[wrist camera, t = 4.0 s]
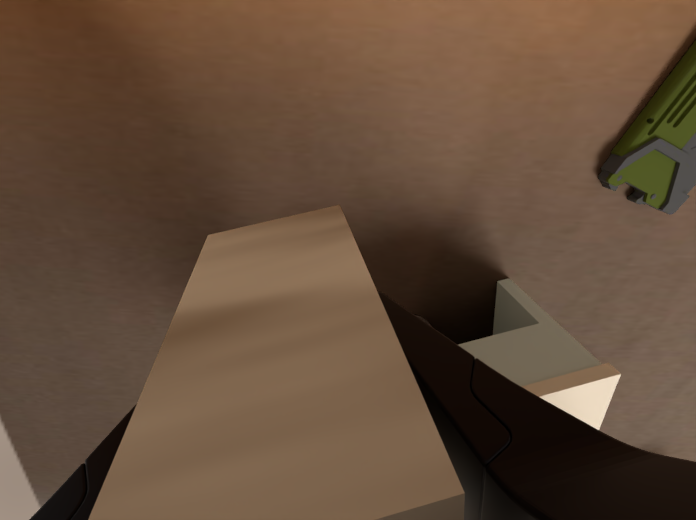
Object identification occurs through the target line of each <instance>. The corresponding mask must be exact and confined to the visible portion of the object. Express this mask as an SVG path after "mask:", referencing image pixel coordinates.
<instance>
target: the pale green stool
mask: <svg viewBox="0 0 696 520" xmlns="http://www.w3.org/2000/svg"><path fill="white" fill-rule="evenodd" d="M458 345H459V346H460V347H462V348H463V349H465V350H466V351H467V352H469V353H470V354H472V355H473V356H474V357H475V358H478V359H479V360H481V361H482V362H484V363H485V364H487V365H488V366H489V367H491V368H492V369H494V370H496V371H497V372H499V373H500V374H502V375H503V376H505V377H506V378H508V379H509V380H511V381H513V382H514V383H516V384H518V385H519V386H521V387H523V388H525V389H526V390H528V391H530V392H531V393H533V394H535V395H536V396H538V397H540V398H542V399H544V400H545V401H547V402H549V403H551V404H553V405H554V406H556V407H558V408H560V409H562V410H563V411H565V412H567V413H569V414H571V415H572V416H574V417H576V418H578V419H580V420H581V421H583V422H585V423H587V424H589V425H590V426H592V427H594V428H596V429H597V430H599V428H600V426H601V423H602V421H603V418H604V416H605V413H606V411H607V408H608V405H609V403H610V400H611V398H612V395H613V393H614V390H615V388H616V385H617V383H618V380H619V378H620V375H621V374H620V373H619V372H618V371H617V370H616V369H615V368H614V367H613V366H612V365H610V364H609V363H605V364H602V363H600V362H599V361H598V360H597V359H596V358H595V357H594V356H593V355H592V354H591V353H590V352H589V351H587V350H586V349H585V348H584V347H583V346H582V345H581V344H580V343H579V342H578V341H577V340H576V339H574V338H573V337H572V336H571V335H570V334H569V333H568V332H567V331H566V330H565V329H564V328H563V327H561V326H560V325H559V324H558V323H557V322H556V321H555V320H554V319H553V318H552V317H551V316H550V315H548V314H547V313H546V312H545V311H544V310H543V309H542V308H541V307H540V306H539V305H538V304H537V303H535V302H534V301H533V300H532V299H531V298H530V297H529V296H528V295H527V294H526V293H525V292H524V291H523V290H521V289H520V288H519V287H518V286H517V285H516V284H515V283H514V282H513V281H512V280H511V279H510V278H508V279H504V280H500V281H497V290H496V302H495V314H494V326H493V335H492V336H489V337H485V338H481V339H477V340H473V341H470V342H466V343H462V344H458Z"/></svg>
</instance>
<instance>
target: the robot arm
mask: <svg viewBox="0 0 696 520" xmlns="http://www.w3.org/2000/svg"><path fill="white" fill-rule="evenodd" d="M378 294H379V297H380V299H381V301H382V304H383V306H384V308H385V311H386V313H387V315H388V317H389V320H390V322H391V324H392V327H393V329H394V331H395V334H396V336H397V338H398V340H399V343H400V345H401V347H402V350H403V352H404V354H405V357H406V359H407V361H408V364H409V366H410V368H411V370H412V373H413V375H414V377H415V380H416V382H417V384H418V387H419V389H420V391H421V393H422V396H423V398H424V400H425V403H426V405H427V407H428V410H429V412H430V414H431V417H432V419H433V421H434V423H435V426H436V428H437V430H438V433H439V435H440V437H441V440H442V442H443V444H444V446H445V449H446V451H447V453H448V456H449V458H450V460H451V463H452V465H453V467H454V470H455V472H456V474H457V476H458V479H459V481H460V483H461V486H462V488H463V490H464V493H465V501H464V520H696V462H694V461H689V460H684V459H679V458H674V457H669V456H664V455H659V454H655V453H651V452H648V451H645V450H641V449H639V448H636V447H633V446H631V445H628V444H626V443H623V442H621V441H619V440H617V439H615V438H613V437H611V436H609V435H607V434H605V433H603V432H601V431H599V430H597V429H596V428H594V427H592V426H590V425H589V424H587V423H585V422H583V421H581V420H580V419H578V418H576V417H574V416H572V415H571V414H569V413H567V412H565V411H563V410H562V409H560V408H558V407H556V406H554V405H553V404H551V403H549V402H547V401H545V400H544V399H542V398H540V397H538V396H536V395H535V394H533V393H531V392H530V391H528V390H526V389H525V388H523V387H521V386H519V385H518V384H516V383H514V382H513V381H511V380H509V379H508V378H506V377H505V376H503V375H502V374H500V373H499V372H497V371H496V370H494V369H492V368H491V367H489V366H488V365H487V364H485V363H484V362H482V361H481V360H479V359H478V358H475V357H474V356H473V355H472V354H470V353H469V352H467V351H466V350H465V349H463V348H462V347H460V346H459V345H457V344H456V343H454V342H453V341H452V340H450V339H449V338H447V337H446V336H444V335H443V334H441V333H440V332H438V331H437V330H436V329H434V328H433V327H431V326H430V325H428V324H427V323H425V322H424V321H422V320H421V319H420V318H418V317H417V316H415V315H414V314H412V313H411V312H409V311H408V310H407V309H405V308H404V307H402V306H401V305H399V304H398V303H396V302H395V301H393V300H392V299H391V298H389V297H388V296H386V295H385V294H383V293H382V292H378ZM136 405H137V404H136ZM136 405H135V406H134V407H133V408H132V409H131V411H130V412H129V413H128V414H127V415H126V416H125V417H124V418H123V419H122V420H121V422H120V423H119V424H118V425H117V426H116V427H115V428H114V429H113V430H112V431H111V432H110V434H109V435H108V436H107V437H106V438H105V439H104V440H103V441H102V442H101V443H100V445H99V446H98V447H97V448H96V449H95V450H94V451H93V452H92V453H91V454H90V455H89V457H88V458H87V459H86V460H85V464H81V465H80V466H79V467H78V469H77V470H76V471H75V472H74V473H73V474H72V475H71V476H70V477H69V478H68V479H67V481H66V482H65V483H64V484H63V485H62V486H61V487H60V488H59V489H58V490H57V491H56V492H55V493H54V494H53V496H52V497H51V498H50V499H49V500H48V501H47V502H46V503H45V504H44V505H43V506H42V507H41V508H40V509H39V510H38V511H37V512H36V514H34V516H33V517H32V518H31V519H30V520H88V519H89V517H90V514H91V512H92V510H93V507H94V505H95V502H96V500H97V498H98V495H99V493H100V491H101V488H102V486H103V483H104V481H105V479H106V476H107V474H108V472H109V469H110V467H111V464H112V462H113V460H114V457H115V455H116V453H117V450H118V448H119V445H120V443H121V441H122V438H123V436H124V434H125V431H126V429H127V426H128V424H129V422H130V419H131V417H132V415H133V412H134V410H135V407H136Z"/></svg>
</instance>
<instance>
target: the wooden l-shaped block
mask: <svg viewBox="0 0 696 520" xmlns="http://www.w3.org/2000/svg"><path fill="white" fill-rule="evenodd" d="M464 501H465V493H464V490H463V488H462V486H461V483H460V481H459V479H458V476H457V474H456V472H455V470H454V467H453V465H452V463H451V460H450V458H449V456H448V453H447V451H446V449H445V446H444V444H443V442H442V440H441V437H440V435H439V433H438V430H437V428H436V426H435V423H434V421H433V419H432V417H431V414H430V412H429V410H428V407H427V405H426V403H425V400H424V398H423V396H422V393H421V391H420V389H419V387H418V384H417V382H416V380H415V377H414V375H413V373H412V370H411V368H410V366H409V364H408V361H407V359H406V357H405V354H404V352H403V350H402V347H401V345H400V343H399V340H398V338H397V336H396V334H395V331H394V329H393V327H392V324H391V322H390V320H389V317H388V315H387V313H386V311H385V308H384V306H383V304H382V301H381V299H380V297H379V294H378V292H377V290H376V287H375V285H374V283H373V281H372V278H371V276H370V274H369V271H368V269H367V267H366V264H365V262H364V260H363V258H362V255H361V253H360V251H359V248H358V246H357V244H356V241H355V239H354V237H353V234H352V232H351V230H350V228H349V225H348V223H347V221H346V218H345V216H344V214H343V211H342V209H341V207H340V205H336V206H332V207H327V208H323V209H319V210H314V211H310V212H306V213H301V214H297V215H293V216H288V217H284V218H280V219H275V220H271V221H267V222H262V223H258V224H254V225H249V226H245V227H241V228H236V229H232V230H228V231H223V232H219V233H215V234H210V235H208V236H207V239H206V241H205V243H204V246H203V248H202V250H201V253H200V255H199V258H198V260H197V262H196V265H195V267H194V269H193V272H192V274H191V277H190V279H189V281H188V284H187V286H186V289H185V291H184V293H183V296H182V298H181V300H180V303H179V305H178V308H177V310H176V312H175V315H174V317H173V319H172V322H171V324H170V327H169V329H168V331H167V334H166V336H165V338H164V341H163V343H162V346H161V348H160V350H159V353H158V355H157V357H156V360H155V362H154V365H153V367H152V369H151V372H150V374H149V376H148V379H147V381H146V384H145V386H144V388H143V391H142V393H141V396H140V398H139V400H138V403H137V405H136V407H135V410H134V412H133V415H132V417H131V419H130V422H129V424H128V426H127V429H126V431H125V434H124V436H123V438H122V441H121V443H120V445H119V448H118V450H117V453H116V455H115V457H114V460H113V462H112V464H111V467H110V469H109V472H108V474H107V476H106V479H105V481H104V483H103V486H102V488H101V491H100V493H99V495H98V498H97V500H96V502H95V505H94V507H93V510H92V512H91V514H90V517H89V519H88V520H464Z"/></svg>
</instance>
